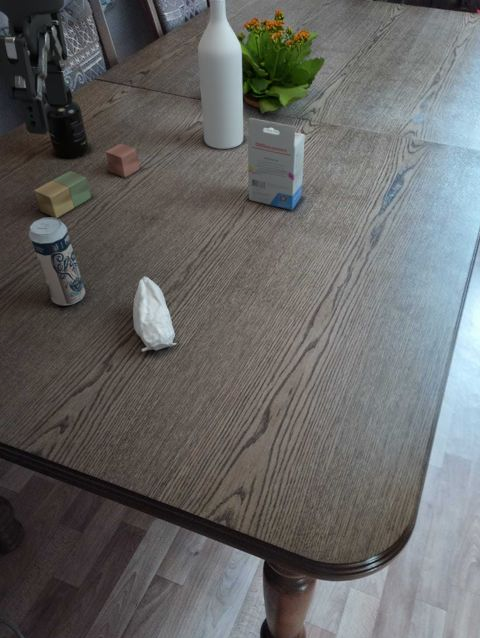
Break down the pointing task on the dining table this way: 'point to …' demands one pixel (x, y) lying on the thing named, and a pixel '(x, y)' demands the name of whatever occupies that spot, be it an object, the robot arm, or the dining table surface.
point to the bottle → (221, 81)
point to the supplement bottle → (66, 127)
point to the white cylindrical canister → (57, 260)
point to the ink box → (275, 163)
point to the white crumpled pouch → (152, 316)
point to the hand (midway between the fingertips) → (48, 117)
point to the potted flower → (276, 63)
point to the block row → (82, 183)
